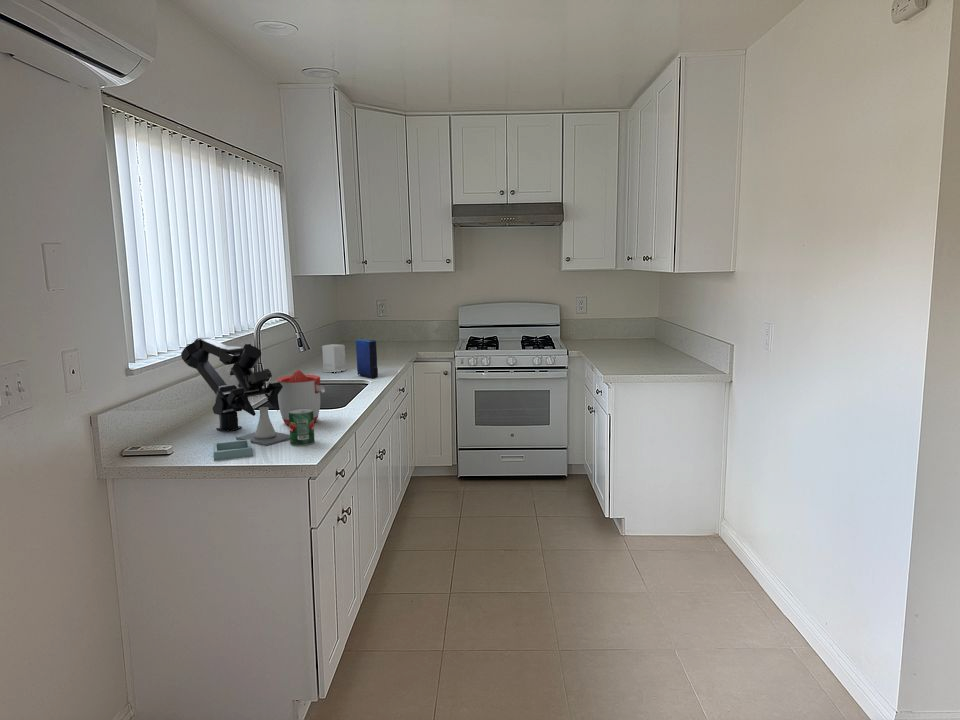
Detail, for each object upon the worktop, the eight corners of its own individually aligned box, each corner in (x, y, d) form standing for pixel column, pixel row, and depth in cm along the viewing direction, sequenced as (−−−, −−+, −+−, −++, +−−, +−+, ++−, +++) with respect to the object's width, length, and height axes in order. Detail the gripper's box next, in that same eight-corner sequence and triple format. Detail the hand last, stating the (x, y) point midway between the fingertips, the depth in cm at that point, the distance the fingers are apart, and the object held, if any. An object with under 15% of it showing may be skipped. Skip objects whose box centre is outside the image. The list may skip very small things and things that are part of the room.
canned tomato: (285, 443, 213) (283, 410, 211) (306, 438, 218) (304, 406, 217) (298, 447, 207) (296, 414, 206) (319, 442, 213) (318, 410, 212)
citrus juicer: (319, 428, 232) (316, 373, 230) (272, 427, 234) (269, 373, 231) (331, 417, 248) (329, 366, 245) (287, 417, 249) (285, 366, 246)
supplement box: (346, 371, 358) (345, 344, 356) (334, 373, 351) (333, 346, 349) (334, 370, 363) (333, 343, 361) (322, 372, 356) (321, 345, 353)
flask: (253, 435, 221) (251, 406, 219) (275, 433, 223) (273, 404, 222) (254, 440, 214) (253, 411, 213) (277, 438, 217) (275, 409, 215)
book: (379, 378, 336) (378, 339, 333) (371, 379, 332) (369, 340, 329) (364, 374, 346) (363, 337, 343) (355, 376, 342) (354, 338, 339)
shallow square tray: (213, 450, 205) (213, 443, 204) (250, 446, 209) (249, 439, 208) (214, 460, 194) (213, 452, 194) (252, 455, 199) (252, 448, 198)
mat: (236, 439, 218) (235, 437, 218) (265, 431, 228) (265, 429, 228) (266, 446, 209) (266, 444, 209) (295, 437, 219) (295, 436, 219)
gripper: (229, 365, 210) (251, 402, 205) (278, 358, 225) (299, 393, 220) (217, 386, 216) (238, 423, 211) (265, 378, 231) (286, 412, 226)
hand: (266, 412), depth 217 cm, fingers open, 9 cm apart
